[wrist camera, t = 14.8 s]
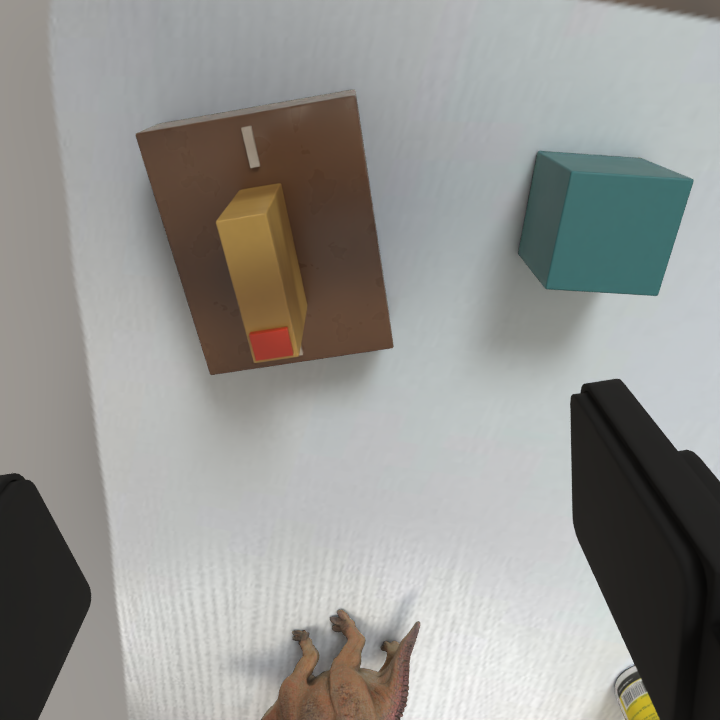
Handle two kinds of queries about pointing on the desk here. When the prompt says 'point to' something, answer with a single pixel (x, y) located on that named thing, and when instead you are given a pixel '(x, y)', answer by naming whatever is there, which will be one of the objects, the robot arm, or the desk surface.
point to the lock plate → (305, 211)
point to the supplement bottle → (634, 697)
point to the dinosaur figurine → (346, 681)
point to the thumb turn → (264, 271)
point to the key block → (602, 222)
